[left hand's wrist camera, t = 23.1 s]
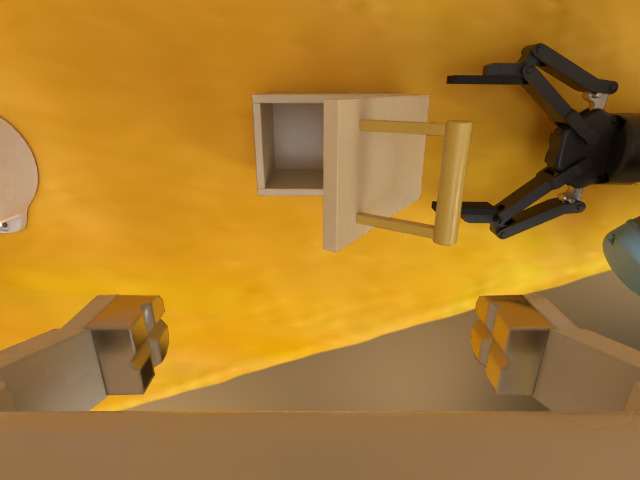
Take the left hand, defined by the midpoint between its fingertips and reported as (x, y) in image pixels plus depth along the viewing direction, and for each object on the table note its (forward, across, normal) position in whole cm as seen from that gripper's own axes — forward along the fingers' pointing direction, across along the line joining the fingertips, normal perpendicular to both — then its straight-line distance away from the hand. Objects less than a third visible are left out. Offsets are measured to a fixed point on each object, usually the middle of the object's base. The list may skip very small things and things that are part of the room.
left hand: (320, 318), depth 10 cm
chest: (+42, -2, 0) cm, 42 cm away
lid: (+23, -5, 0) cm, 24 cm away
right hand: (+34, -13, 0) cm, 37 cm away
